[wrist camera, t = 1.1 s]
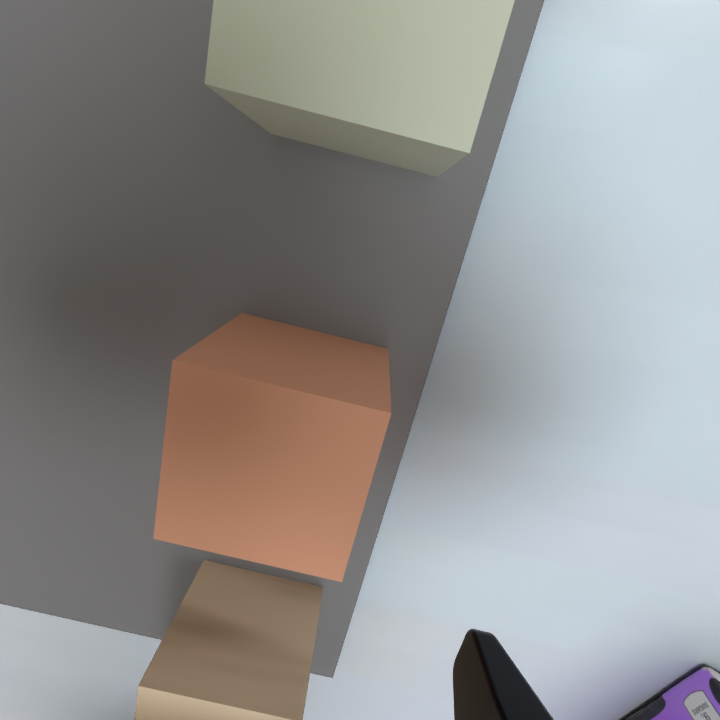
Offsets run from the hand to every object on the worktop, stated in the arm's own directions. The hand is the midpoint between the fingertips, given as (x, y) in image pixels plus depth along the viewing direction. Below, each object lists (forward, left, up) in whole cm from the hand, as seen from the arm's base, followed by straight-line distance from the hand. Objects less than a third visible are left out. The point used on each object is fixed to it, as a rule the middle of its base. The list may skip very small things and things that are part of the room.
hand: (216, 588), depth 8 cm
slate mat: (+5, +4, -9) cm, 11 cm away
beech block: (-7, +7, -8) cm, 13 cm away
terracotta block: (0, 0, -8) cm, 8 cm away
